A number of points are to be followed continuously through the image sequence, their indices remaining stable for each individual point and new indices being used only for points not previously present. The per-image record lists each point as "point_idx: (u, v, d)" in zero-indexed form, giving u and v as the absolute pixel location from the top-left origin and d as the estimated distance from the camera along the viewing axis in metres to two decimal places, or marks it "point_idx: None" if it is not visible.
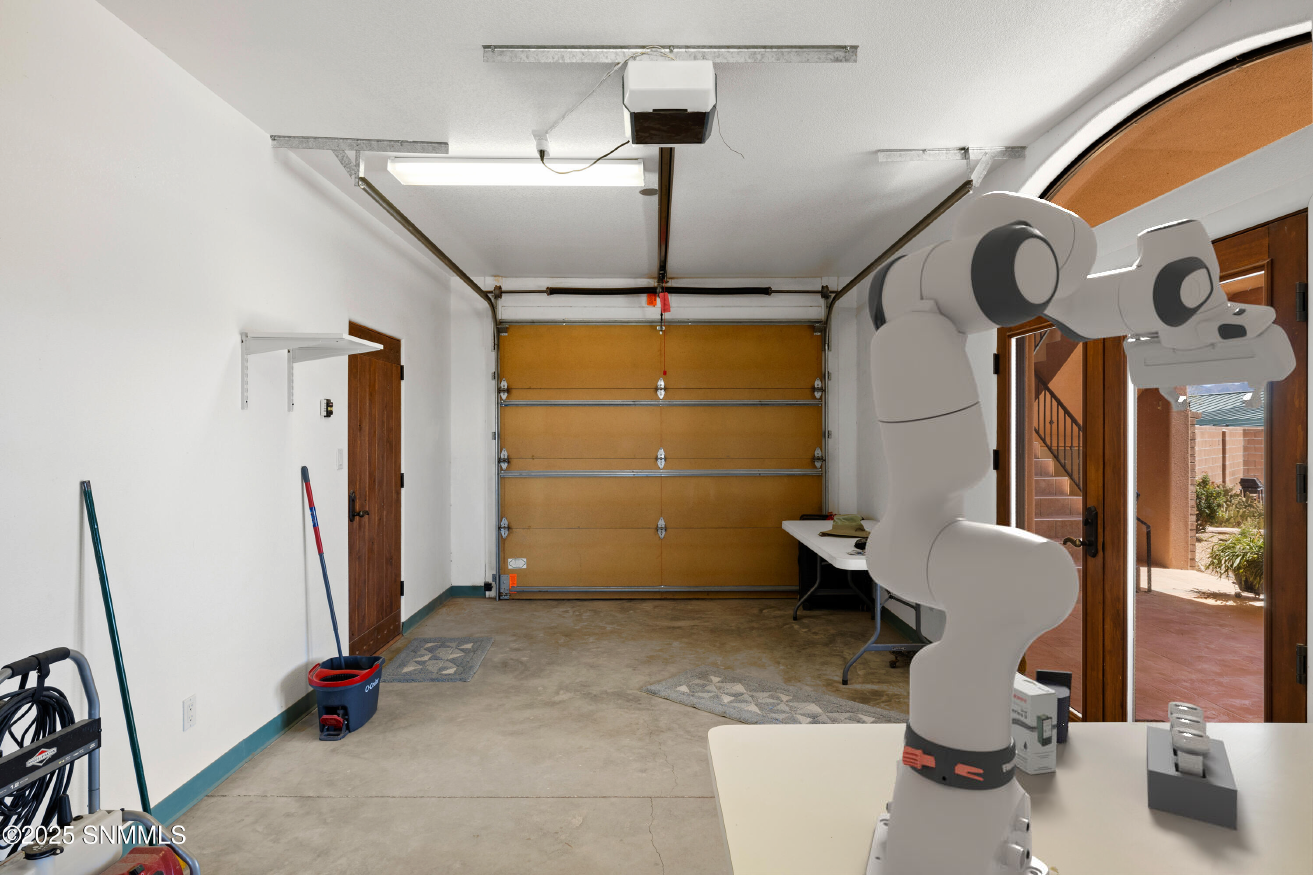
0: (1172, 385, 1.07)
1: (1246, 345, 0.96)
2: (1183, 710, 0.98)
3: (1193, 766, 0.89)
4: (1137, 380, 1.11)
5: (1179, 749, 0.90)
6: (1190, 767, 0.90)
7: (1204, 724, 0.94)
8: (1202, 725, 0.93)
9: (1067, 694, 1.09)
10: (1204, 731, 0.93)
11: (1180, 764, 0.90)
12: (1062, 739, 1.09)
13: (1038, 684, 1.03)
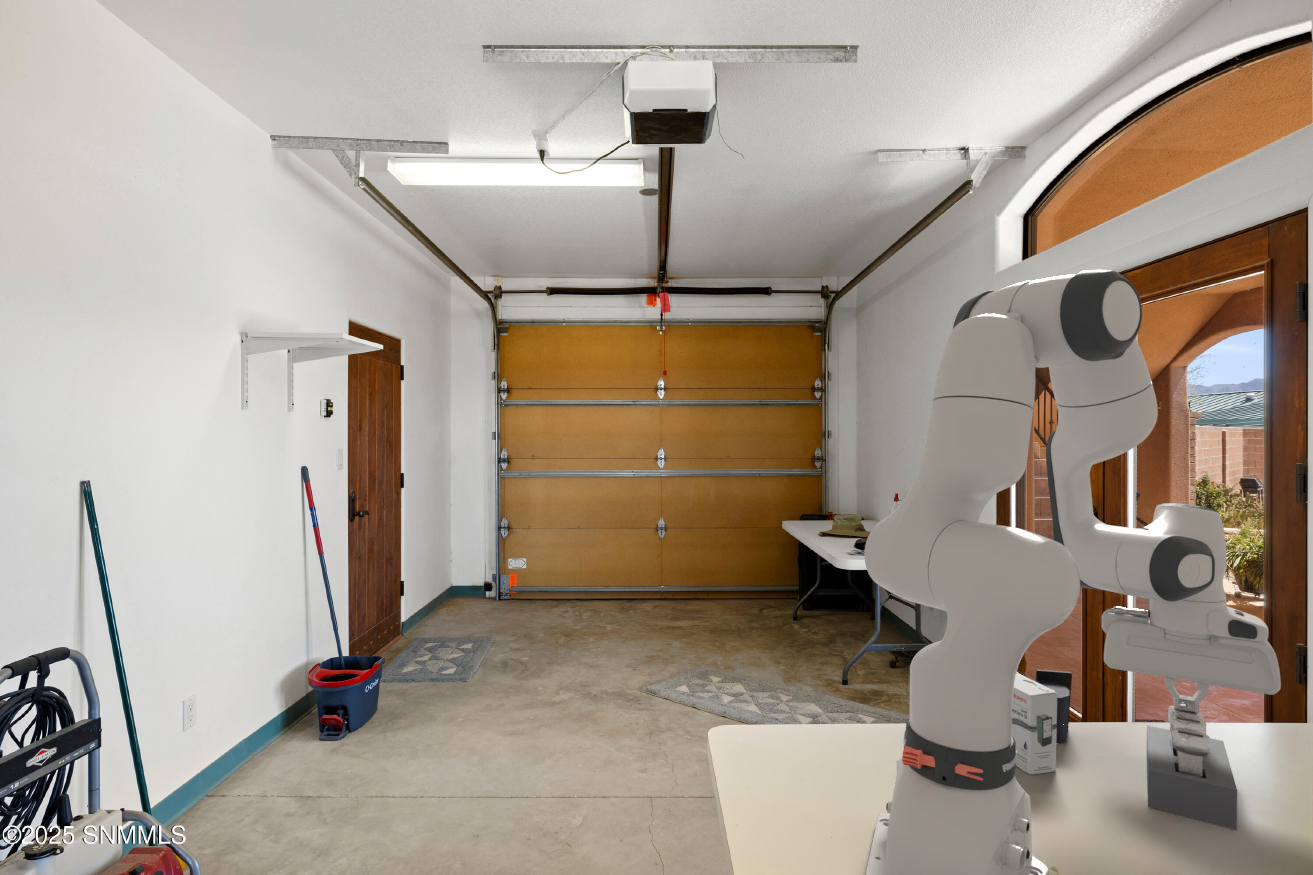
0: (1151, 673, 1.00)
1: (1248, 648, 0.94)
2: (1183, 714, 0.98)
3: (1193, 766, 0.89)
4: (1113, 658, 1.03)
5: (1179, 749, 0.90)
6: (1190, 767, 0.90)
7: (1204, 724, 0.94)
8: (1202, 725, 0.93)
9: (1067, 694, 1.09)
10: (1204, 731, 0.93)
11: (1180, 764, 0.90)
12: (1062, 739, 1.09)
13: (1038, 684, 1.03)
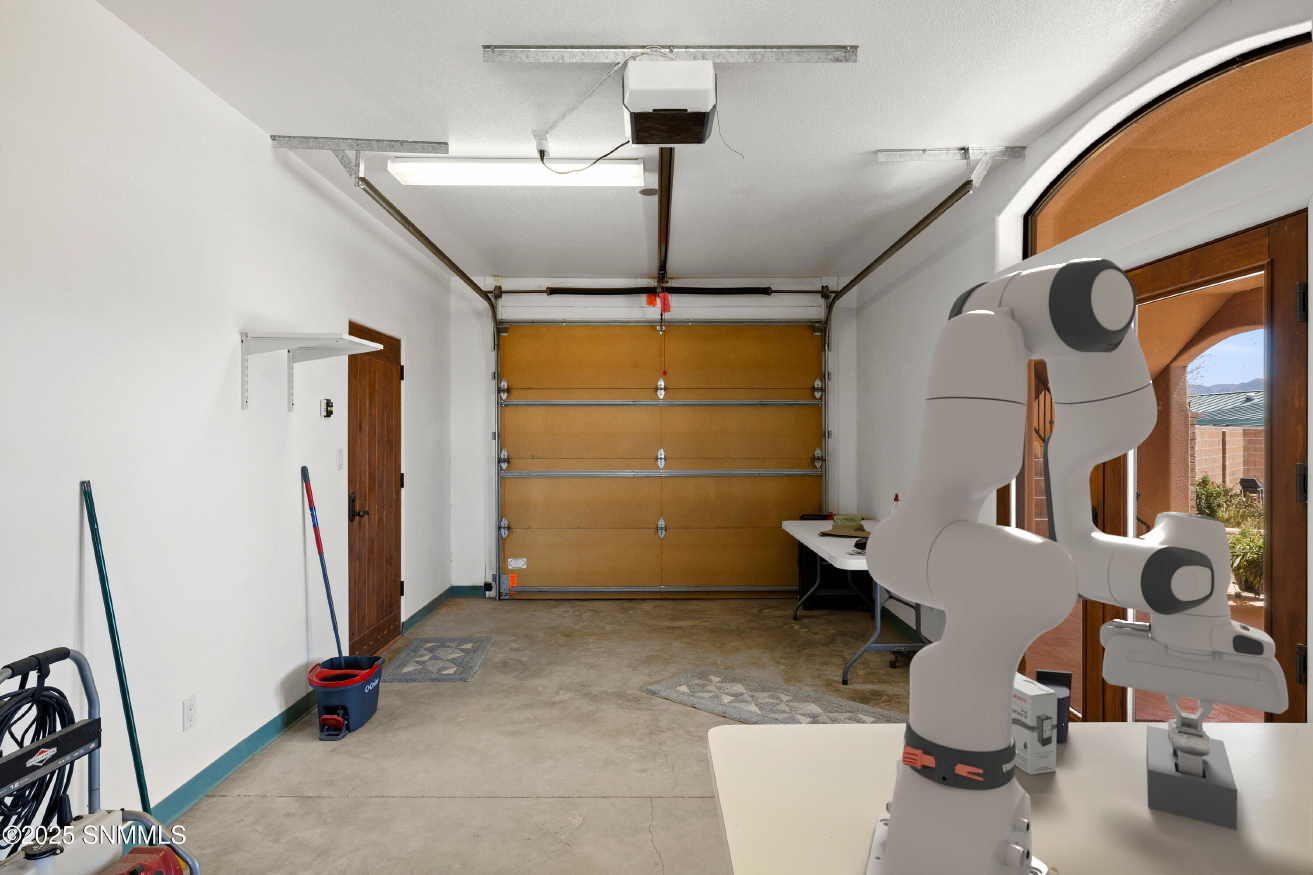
0: (1152, 689, 0.96)
1: (1253, 665, 0.89)
2: None
3: (1193, 766, 0.89)
4: (1112, 673, 0.99)
5: (1179, 749, 0.90)
6: (1190, 767, 0.90)
7: None
8: None
9: (1067, 694, 1.09)
10: None
11: (1180, 764, 0.90)
12: (1062, 739, 1.09)
13: (1038, 684, 1.03)
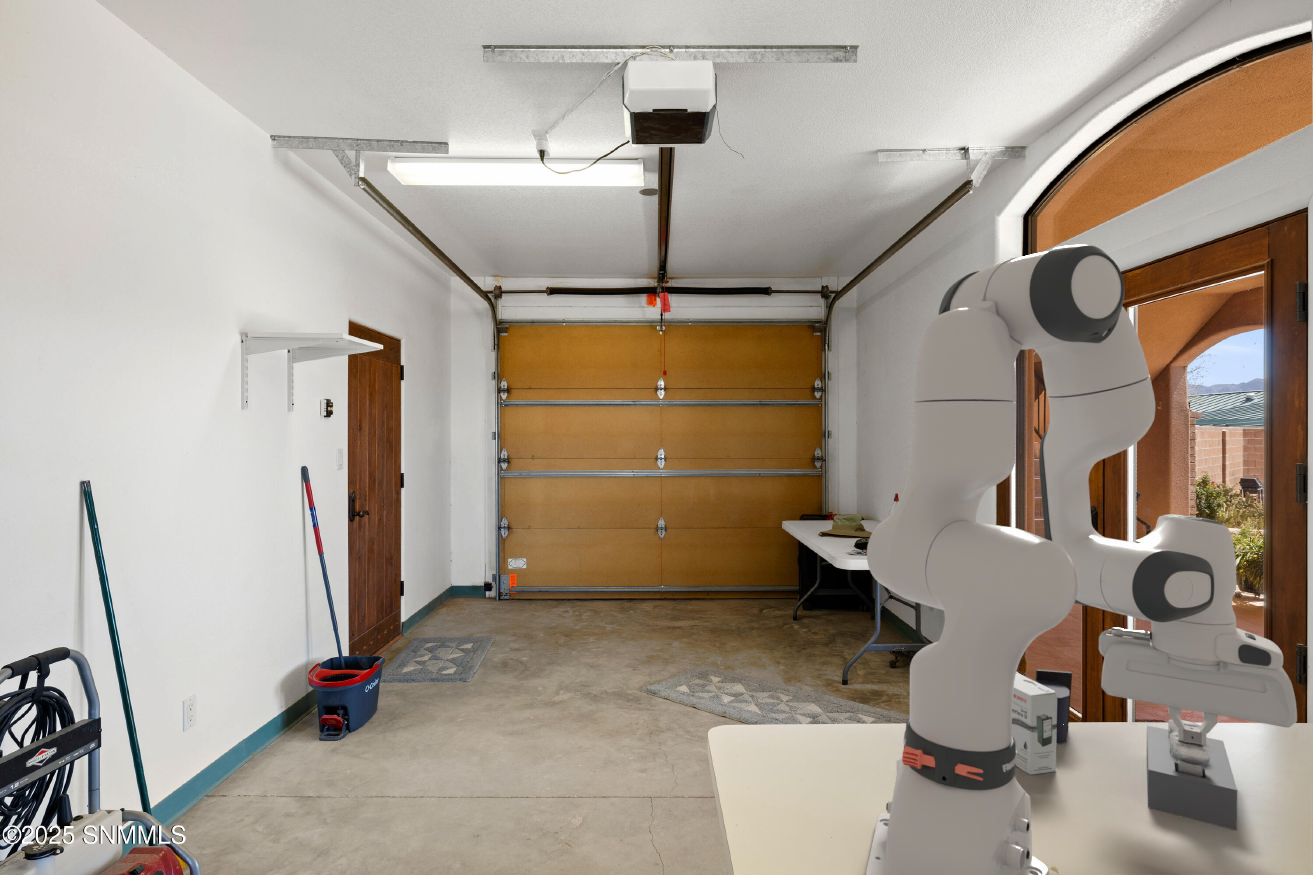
0: (1153, 701, 0.91)
1: (1260, 676, 0.85)
2: None
3: (1193, 775, 0.89)
4: (1111, 684, 0.94)
5: (1179, 758, 0.90)
6: None
7: None
8: None
9: (1067, 694, 1.09)
10: None
11: None
12: (1062, 739, 1.09)
13: (1038, 684, 1.03)
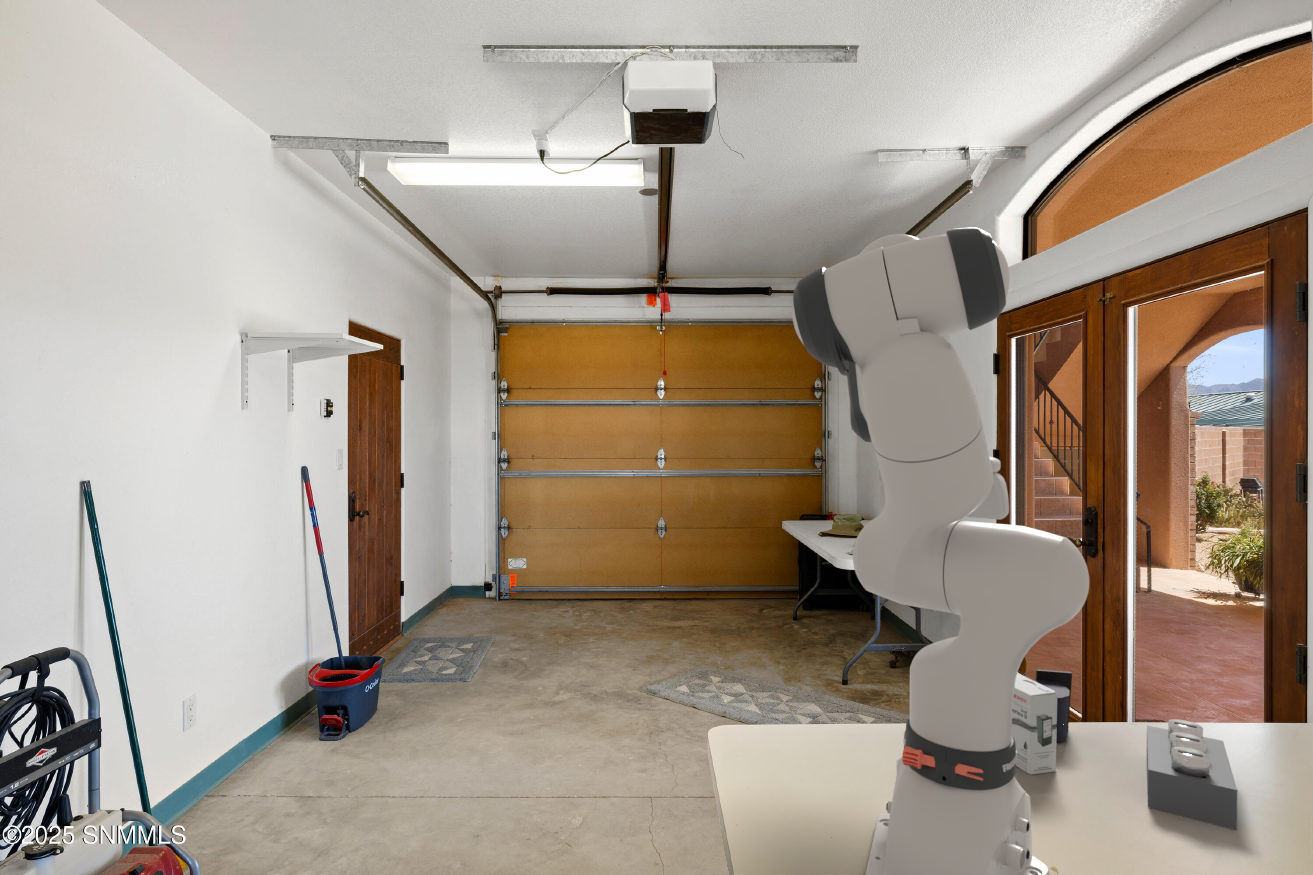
0: None
1: None
2: (1183, 728, 0.98)
3: None
4: (884, 502, 1.19)
5: (1179, 769, 0.90)
6: None
7: (1204, 743, 0.94)
8: (1201, 744, 0.93)
9: (1067, 694, 1.09)
10: (1204, 750, 0.93)
11: None
12: (1062, 739, 1.09)
13: (1038, 684, 1.03)
